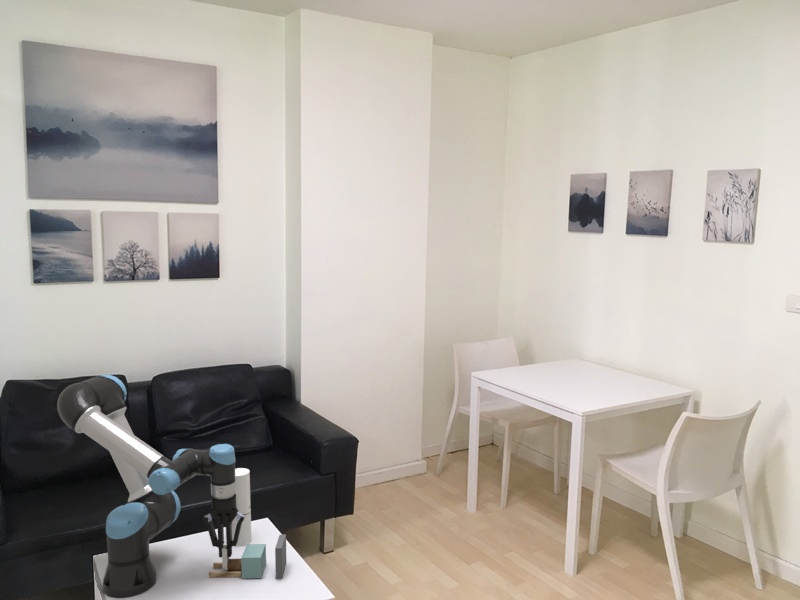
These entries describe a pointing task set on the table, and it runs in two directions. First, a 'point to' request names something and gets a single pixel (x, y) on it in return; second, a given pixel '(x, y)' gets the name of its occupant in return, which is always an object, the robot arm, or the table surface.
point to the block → (253, 560)
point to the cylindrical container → (243, 506)
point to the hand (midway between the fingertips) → (225, 566)
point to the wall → (280, 556)
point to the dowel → (234, 565)
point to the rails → (223, 574)
